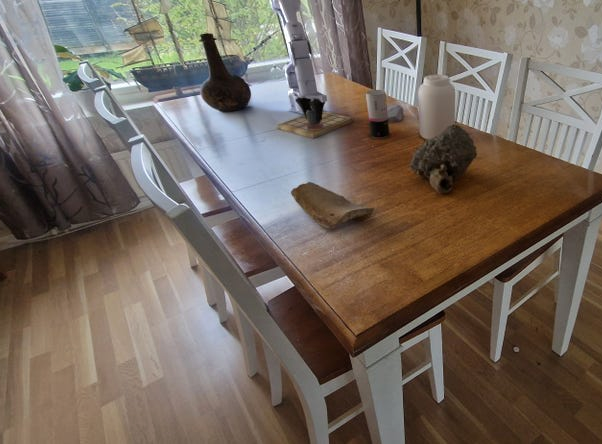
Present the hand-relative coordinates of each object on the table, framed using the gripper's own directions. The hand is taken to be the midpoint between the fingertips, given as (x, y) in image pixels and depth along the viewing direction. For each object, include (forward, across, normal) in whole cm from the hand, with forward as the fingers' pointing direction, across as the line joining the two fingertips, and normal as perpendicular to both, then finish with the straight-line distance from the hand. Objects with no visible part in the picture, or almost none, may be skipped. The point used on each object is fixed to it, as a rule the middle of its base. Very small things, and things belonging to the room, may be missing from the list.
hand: (313, 119), depth 134 cm
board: (+4, -4, +4) cm, 7 cm away
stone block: (+4, +14, +24) cm, 28 cm away
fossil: (+4, +45, -38) cm, 59 cm away
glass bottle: (+4, -49, 0) cm, 49 cm away
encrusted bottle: (+4, +60, -11) cm, 61 cm away
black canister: (+1, 0, 0) cm, 1 cm away
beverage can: (+4, +23, +8) cm, 25 cm away
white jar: (+4, +40, +19) cm, 45 cm away
